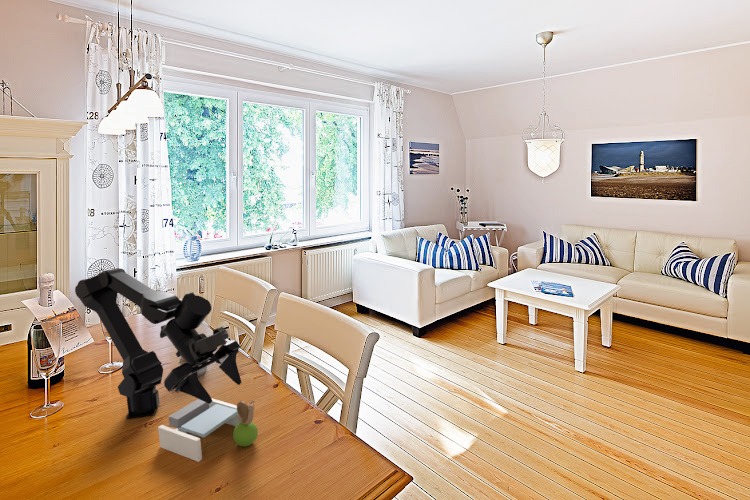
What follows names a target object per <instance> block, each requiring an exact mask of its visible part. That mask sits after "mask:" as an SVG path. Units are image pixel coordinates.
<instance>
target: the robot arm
mask: <svg viewBox="0 0 750 500" xmlns="http://www.w3.org/2000/svg"><path fill="white" fill-rule="evenodd" d="M74 293H75V295H76V297H77V298H78V299H79V300H80V301H81V303H82V305H83V306H84V307H85V308H88V309H89V310H91V311H93V312H95V313H96V314H97V316H98V318H99V320H100V321H101V323H102V325H103V326H104V329H105V330H106V333H107V334H108V335H109V338H111V341H112V343H113V344H114V346H115V348H116V349H117V352H118V353H119V355H120V357H121V359H122V369H121V373H122V376H123V379H122V380H121V381H120V383H119V384H118V386H117V390H118V393H119V394H120V395H121V396H124V397H126V404H127V405H126V406H127V412H128V413H127V414H126V416H125V418H126V419H134V418H141V417H148V416H149V417H150V416H154V415H155V414H156V411H157V409H158V408H159V407H160V395H159V390H158V389H157V388H156V386H158V385H160V384H162V378H163V376H164V375H163V374H164V368H163V365H162V363H163V362H161V361H160V359H159V358H158V356H157V354H156V352H155V351H153V350H151V351H147V350H145V349H144V348H143V347H142V345H141V343H140V342H139V340H138V338H137V337H136V335H135V332H134V331H133V330H132V327H131V326H130V324H129V322H128V320H127V319H126V317H125V315H124V314H123V312H122V309H121V308H120V306H119V305H118V301H117V300H118V295H121V296H122V297H124V298H125V299H126V300H129V302H132V303H133V304H135V305H136V306H137V307H139V308H140V313H141V316H143V317H144V318H145V319H146V320H147V321H148V322H150V323H151V324H153V325H157V324H158V325H159V324H161V323H163V322H166V321H168V320H169V321H168V322H167V323H166V324H164V325H162V326H160V333H159V337H160V338H161V339H163V338H166V337H167V338H168V340H169V341H170V342H171V344H172V345H173V346H174V348H175V349H176V352H175V356H177V358H181V356H182V357H183V358H184V360H185V361H186V363H184V364H182V365H180V364H179V366H176V367H174V368H172V369H171V371H170V373H169V374H168V375H167V376H166V377H165V378H164V380H163V383H164V385H163V386H164V387H165V389H166V390H167V392H169V393H171V392H172V391H174V392H175V393H178V392H180V393H184V394H186V395H190V396H191V397H194V398H196V399H200V400H202V401H204V402H206V403H208V404H210V403H211V402H212V399H211V398H212V397H211V395H210V394H209V392H208V391H207V389H205V387H204V386H203V384H202V383H201V381H200V380H199V376H198V374H197V371H199V370H201V369H203V368H205V367H207V368H208V367H209V366H210V365H212V364H214V363H216V364H219V366H218V368H219V369H220V370H221V371H222V372H223V373H224V374H225V375H226V376H227V377H228V378H230V379H231V381H233V382H234V383H235V385H237V386H240V385H241V384H242V378H241V375H240V372H239V368H238V365H237V355H238V354H239V353H240V352H239V351H240V348H241V345H240V343H238V341H237V340H234V339H231V340H229V341H226V340H227V339H229V337H230V336H229V334H228V331H227V330H226V329H225V328H224V327H223V326H220V327H217V328H215V329H213V331H212V334H211V335H209V336H207V335H206V334H205V333H203V332H202V333H200V334H199V332H198V331H197V328H199V327H200V325H202V323H203V322H204V321H205V320H206V318H207V317H208V315H209V314H210V313H211V311H212V305H211V302H210V301H209V300H208V299H206V298H205V297H203V296H201V295H197V294H195V293H194V292H192V291H191V292H188V293H185V294H184V295H183V297H182V298H179V297H178V296H177V295H176V294H174V293H170V292H169V291H168V292H167V291H163V290H155V289H152V288H151V287H150V286H148V285H146V284H144V283H143V282H141V281H139V279H137V278H135V277H133V276H131V275H130V274H128V273H127V272H126V271H125V270H124V269H123V268H119V267H117V268H112V269H107V270H103V271H102V272H100V273H98V274H97V275H94V276H92V277H90V278H83V279H80V280H79V281H78V282H77V284H76V286H75V288H74ZM214 352H215V353H214ZM208 360H209V361H208ZM207 361H208V362H207ZM199 365H200V366H199Z"/></svg>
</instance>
